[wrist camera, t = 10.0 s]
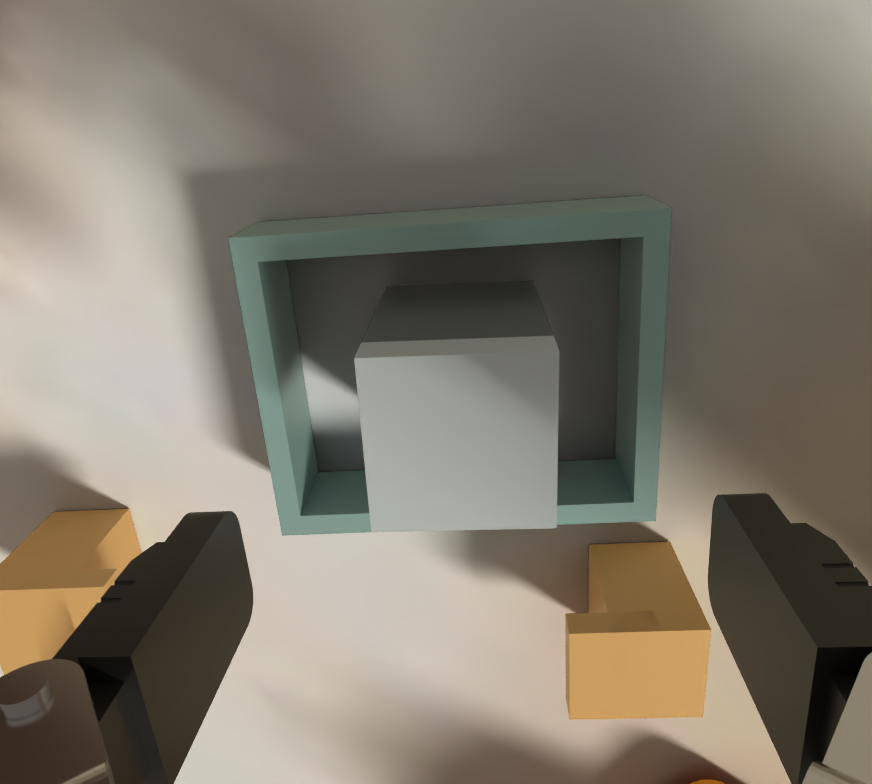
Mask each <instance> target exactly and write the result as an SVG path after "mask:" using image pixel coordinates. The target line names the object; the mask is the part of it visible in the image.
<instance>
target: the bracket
mask: <svg viewBox="0 0 872 784" xmlns="http://www.w3.org/2000/svg"><path fill="white" fill-rule="evenodd" d="M690 784H725V783H723V782H720V781H717V780H699V781H695V782H692V783H690Z"/></svg>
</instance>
